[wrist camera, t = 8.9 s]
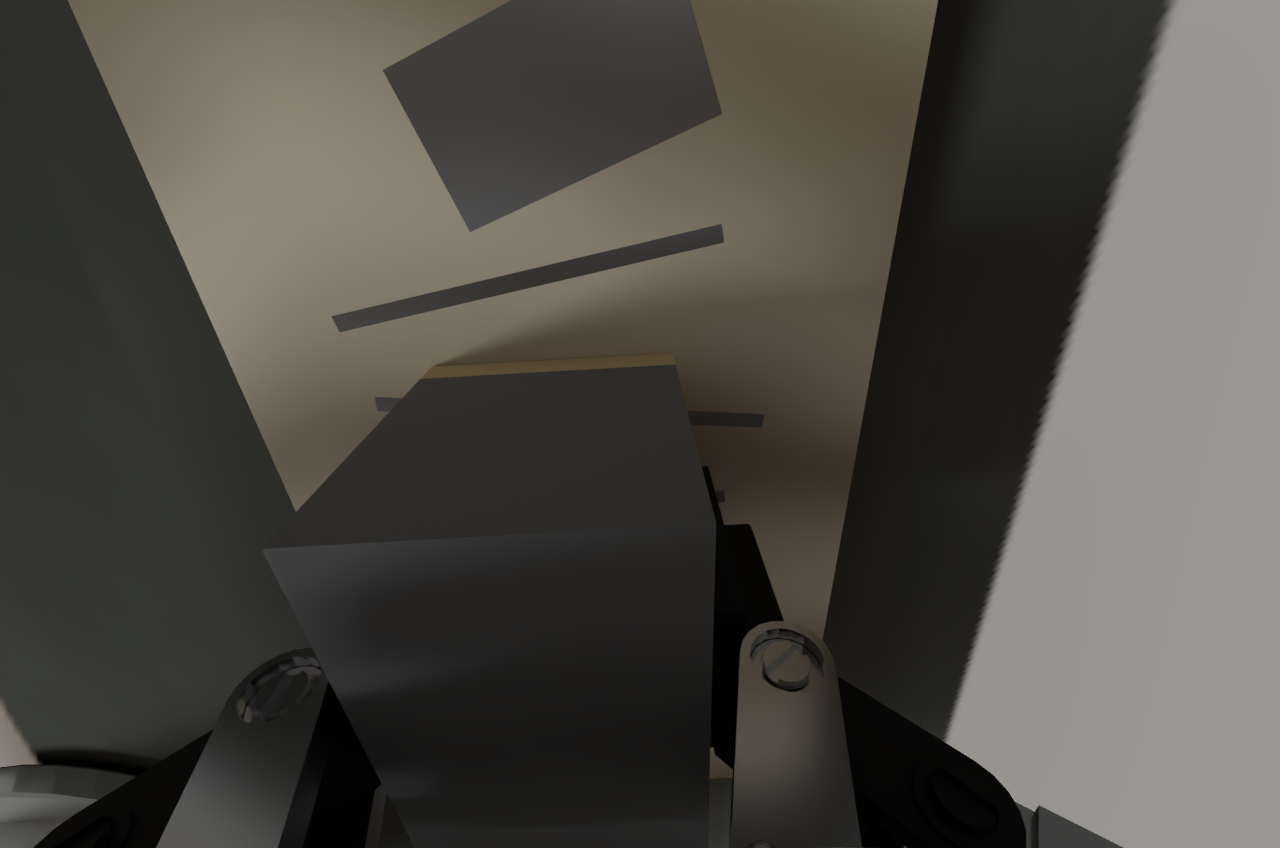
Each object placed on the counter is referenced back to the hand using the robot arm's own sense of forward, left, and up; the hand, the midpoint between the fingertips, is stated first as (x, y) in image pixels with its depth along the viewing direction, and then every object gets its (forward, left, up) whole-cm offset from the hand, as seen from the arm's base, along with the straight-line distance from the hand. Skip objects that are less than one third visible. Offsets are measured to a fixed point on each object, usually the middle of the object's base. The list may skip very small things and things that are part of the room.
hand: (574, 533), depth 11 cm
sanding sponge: (0, 0, 0) cm, 0 cm away
